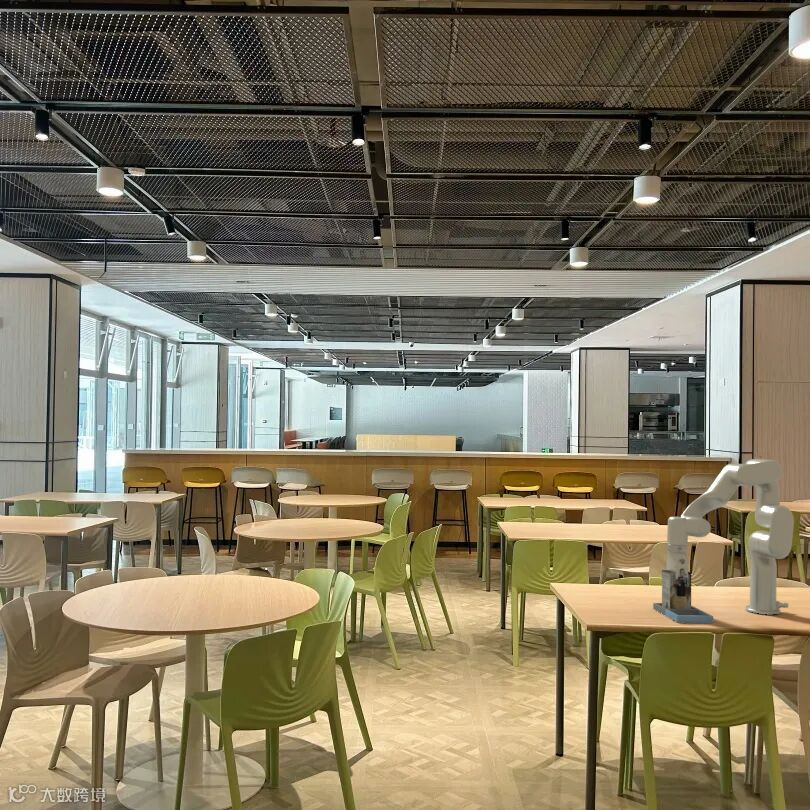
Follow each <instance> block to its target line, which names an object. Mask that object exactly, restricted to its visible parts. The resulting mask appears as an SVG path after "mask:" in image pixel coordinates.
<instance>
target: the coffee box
mask: <svg viewBox="0 0 810 810" xmlns="http://www.w3.org/2000/svg"><path fill="white" fill-rule="evenodd" d="M678 578H682V577H678ZM680 582H681V581H680ZM677 586H678V583H677V580H676V579H675V574H674V572H672V571H669V570H665V569H662V570H661V603H662V607H664V608H666V609H691V606H692V572H691V571H688V579H687V583H686V593H685V597H680V596H677Z"/></svg>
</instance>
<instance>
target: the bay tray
mask: <svg viewBox="0 0 810 810" xmlns="http://www.w3.org/2000/svg"><path fill="white" fill-rule="evenodd" d="M652 604H653V605H652V607H653V608H652V610H654V609H655V610H656V611H655V610H654V611H655V612H657V611H658V613H659V612H660V613H659V614H661V613H662V614H663V616H664V615H665V616H664V617H666V616H667V617H666V618H668V617H669V618H668V619H670V618H671V619H673V620H674V621H673V620H672V621H673V622H675V621H676V622H675V623H677V622H680V623H679V624H681V623H682V624H714V616H713V615H711V614H710V613H708V612H705V611H704V610H701V609H700V608H697V607H695V606H693V605H691V609H666V608H664V607H662V602H653V603H652ZM662 614H661V615H662ZM671 619H670V620H671Z"/></svg>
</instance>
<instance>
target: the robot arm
mask: <svg viewBox="0 0 810 810" xmlns="http://www.w3.org/2000/svg"><path fill="white" fill-rule="evenodd" d="M783 473H784V471H783V466H782V464H780V462H778V461H777V460H774V459H762V458H753V459H748V460H747V461H746V462H745V463H728V464H726V465H725V466H723V468H722V470H721V471H720V472H719V474H718V475H717V476H716V478H715V479H714V481H713V482H712V483H711V485H710V486H709V487H708V489H707V490H706V491H705V492H704V493H703V494H701V495H700V496H699V497H698V498H695V500H694V501H692V502H691V503H690V504H689V505H688V506H687V507H686V508H685V510H684V511H683V513H682V514H681V515H680V516H670V517H669V518H668V519H667V535H666V553H667V557H666V564H665V565H666V567H665V569H664V570H669V571H672V572H674V574H675V579H676V580H677V583H678V586H677V596H680V597H685V593H686V583H687V579H688V572H689V561H688V560H689V559H688V546H689V545H688V542H689V540H688V539H689V537H695V538H705V537H707V536H709V534H710V533H711V530H712V527H711V524H710V522H709V521H708V520H707V519H705V518H703V517H704V516H705V515H706V514H708V513H709V512H711V511H714V510H717V509H719V508H722V507H723V506H726V505H727V504H728V502H729V501H730V499H731V498H732V496H733V495H734V494H735V492H736V491H737V489H738V488H739V487H753V486H754V487H755V489H756V498H755V499H756V500H755V509H754V521H755V522H756V524H757V525H758V526H760V527H761V528H767V529H769V531H768V530H756V531H754V532H752V533H751V534H750V535H749V537H748V540H747V542H748V544H747V545H748V552H749V556H750V557H749V558H750V559H749V561H750V569H749V570H750V572H749V573H750V574H749V575H750V577H749V582H750V583H749V605H746V606H745V607H744V608H745V611H747V612H750V613H752V612H753V614H757V613H759V615H765V614H767V615H768V616H774V615H773V614H778V615H780V614H781V608H785V609H787V608H789V603H788V602H781V601H778V600H777V589H778V588H777V584H778V583H777V578H778V576H777V573H778V567H777V561H776V559H777V560H781V559H785V558H786V557H788V555H789V554H790V552H791V549H792V545H793V538H794V537H793V536H794V526H795V524H794V523H795V520H794V519H795V517H794V514H793V512H792V511H791V509H790V508H789V507H786V506H784V505H781V504H780V503H781V488H780V485H779V483H778V481H779V480H780V479H781V477H782V476H783ZM678 577H682V578H678ZM680 581H681V582H680ZM767 615H766V616H767Z"/></svg>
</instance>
